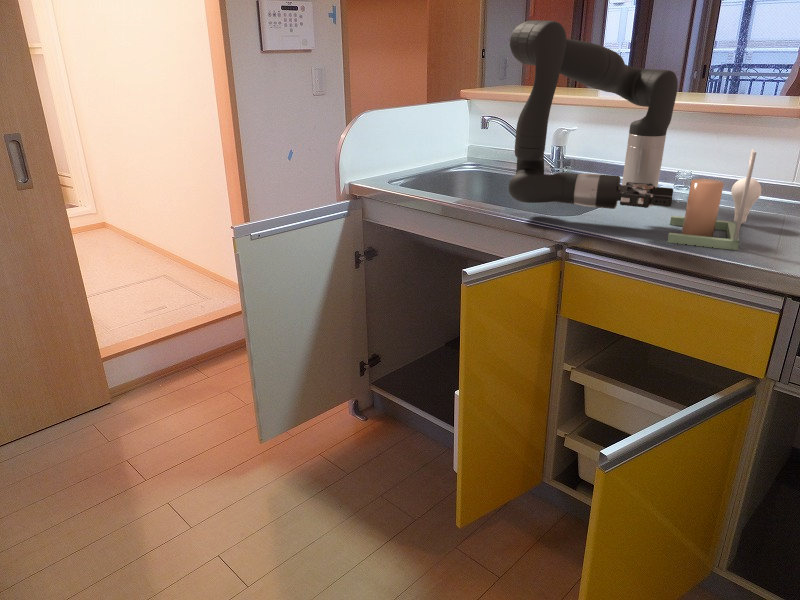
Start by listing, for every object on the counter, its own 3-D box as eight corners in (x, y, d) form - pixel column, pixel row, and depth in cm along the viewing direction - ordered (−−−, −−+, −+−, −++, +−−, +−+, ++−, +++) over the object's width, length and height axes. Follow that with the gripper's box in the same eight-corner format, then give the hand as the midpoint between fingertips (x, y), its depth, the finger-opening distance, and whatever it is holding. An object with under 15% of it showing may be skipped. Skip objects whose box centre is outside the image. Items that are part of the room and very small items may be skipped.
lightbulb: (728, 219, 152) (737, 174, 147) (756, 223, 148) (766, 177, 144) (721, 224, 147) (731, 178, 143) (750, 229, 144) (761, 181, 139)
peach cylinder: (681, 230, 143) (691, 177, 138) (712, 233, 141) (723, 180, 136) (681, 237, 138) (691, 183, 133) (713, 241, 135) (724, 185, 131)
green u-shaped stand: (670, 223, 149) (684, 137, 141) (733, 229, 144) (752, 141, 136) (667, 242, 134) (683, 148, 127) (737, 250, 129) (758, 153, 122)
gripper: (594, 180, 137) (674, 186, 131) (602, 169, 149) (675, 174, 143) (590, 213, 140) (668, 221, 134) (598, 200, 152) (670, 206, 146)
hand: (672, 197), depth 138 cm, fingers open, 8 cm apart
